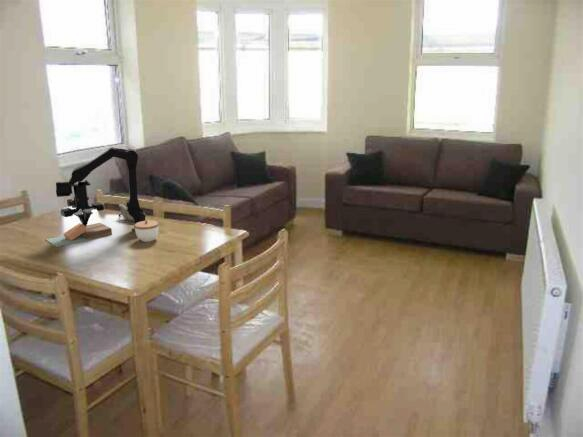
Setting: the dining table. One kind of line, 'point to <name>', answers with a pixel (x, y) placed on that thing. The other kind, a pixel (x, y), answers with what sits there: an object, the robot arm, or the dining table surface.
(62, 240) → the mat
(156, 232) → the lidded jar
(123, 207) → the decorative bird
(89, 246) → the dining table surface
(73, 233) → the reddish orange flat block
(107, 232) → the block
